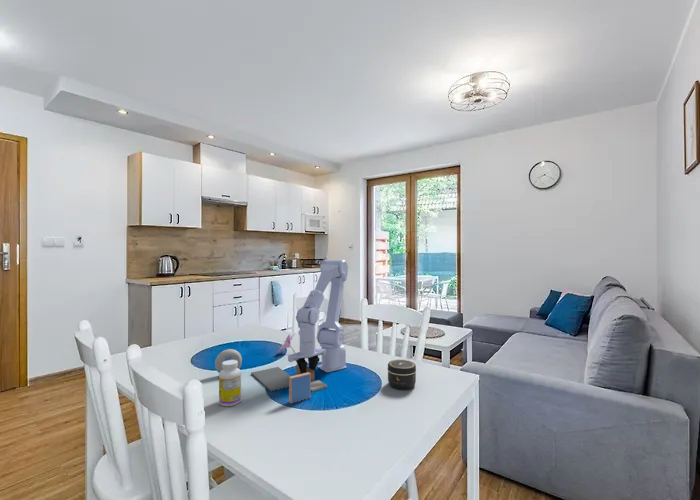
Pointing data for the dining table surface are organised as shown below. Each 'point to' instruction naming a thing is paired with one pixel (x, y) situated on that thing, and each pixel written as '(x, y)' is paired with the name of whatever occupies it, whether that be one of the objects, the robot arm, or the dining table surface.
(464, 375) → the dining table surface
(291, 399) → the tile
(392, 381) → the jar
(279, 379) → the mat
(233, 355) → the donut
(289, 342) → the lily
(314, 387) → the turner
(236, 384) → the supplement bottle
